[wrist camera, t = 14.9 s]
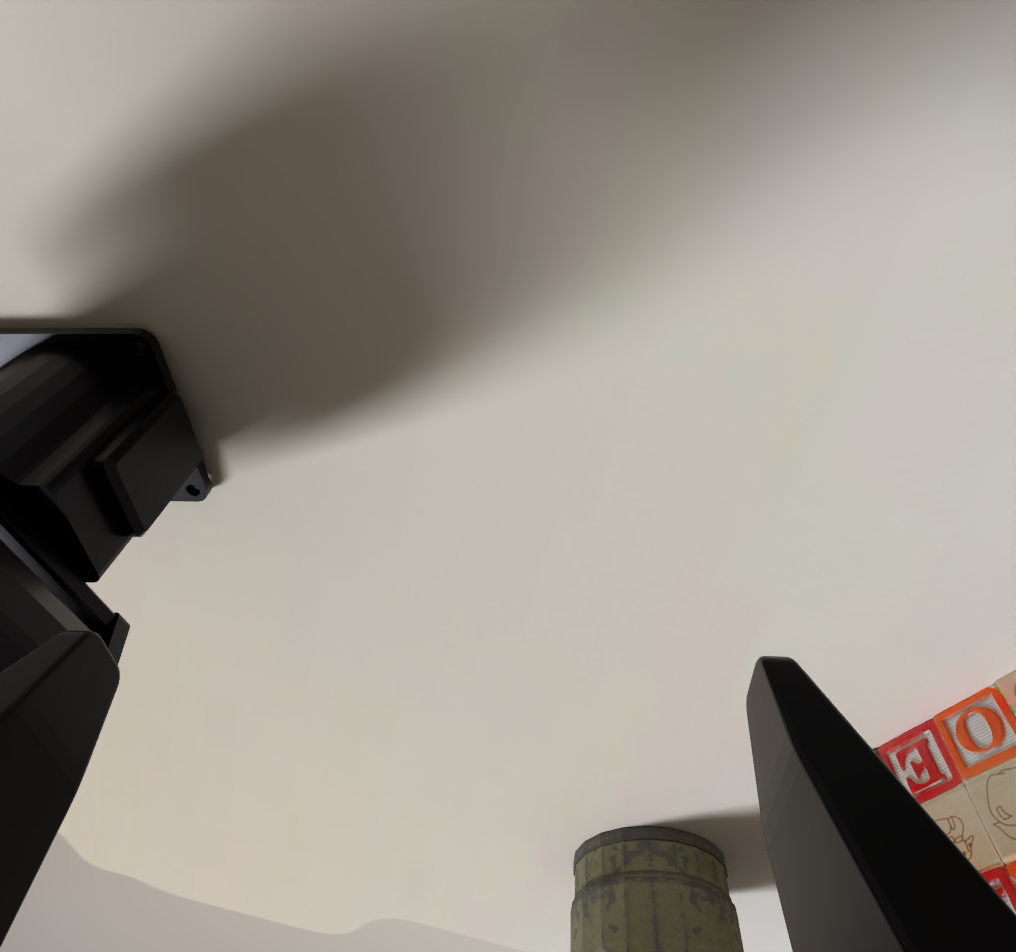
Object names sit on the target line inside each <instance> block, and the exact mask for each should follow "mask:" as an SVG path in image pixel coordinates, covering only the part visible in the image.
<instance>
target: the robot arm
mask: <svg viewBox="0 0 1016 952" xmlns="http://www.w3.org/2000/svg"><path fill="white" fill-rule="evenodd" d="M136 342H139V343H141V344H142V345H143V346H144V348H145V350H142V349H140V348H139V347H138V346H137V344H136ZM202 459H203V456H202V453H201V451H200V448H199V445H198V442H197V440H196V437H195V434H194V432H193V429H192V426H191V424H190V421H189V418H188V415H187V413H186V410H185V407H184V405H183V402H182V399H181V398H180V396H179V395H178V393H177V391H176V388H175V385H174V383H173V380H172V377H171V374H170V372H169V369H168V366H167V364H166V361H165V358H164V356H163V353H162V350H161V348H160V345H159V343H158V341H157V339H156V337H155V336H154V335H152V334H151V333H150V332H148V331H146V330H144V329H139V328H80V329H0V947H1V945H2V943H3V941H4V939H5V937H6V935H7V933H8V931H9V929H10V926H11V925H12V923H13V921H14V919H15V917H16V915H17V913H18V911H19V909H20V907H21V905H22V902H23V900H24V898H25V896H26V894H27V892H28V890H29V888H30V886H31V884H32V882H33V880H34V878H35V876H36V874H37V872H38V870H39V868H40V866H41V864H42V862H43V860H44V858H45V856H46V854H47V852H48V850H49V848H50V846H51V844H52V842H53V840H54V838H55V836H56V834H57V832H58V830H59V828H60V826H61V824H62V822H63V820H64V818H65V816H66V814H67V812H68V810H69V808H70V806H71V803H72V801H73V799H74V797H75V795H76V793H77V791H78V788H79V786H80V783H81V781H82V779H83V776H84V774H85V771H86V769H87V766H88V763H89V761H90V758H91V756H92V753H93V750H94V748H95V745H96V742H97V740H98V737H99V735H100V732H101V729H102V727H103V724H104V721H105V719H106V716H107V714H108V711H109V708H110V706H111V703H112V700H113V698H114V695H115V693H116V690H117V687H118V684H119V679H120V671H119V667H118V663H119V660H120V657H121V653H122V650H123V647H124V644H125V641H126V638H127V635H128V631H129V628H130V625H129V624H128V623H127V622H126V620H125V619H124V618H123V617H122V616H121V615H120V614H119V613H113V612H112V611H111V609H110V608H109V607H108V606H107V605H106V604H105V603H104V602H103V601H102V600H101V599H100V598H99V597H98V596H97V595H96V593H95V592H94V591H93V590H92V589H91V588H90V587H89V586H88V585H87V584H86V583H85V582H97V581H98V580H99V579H100V578H101V576H102V575H103V574H104V573H105V571H106V570H107V569H108V567H109V566H110V565H111V564H112V562H113V561H114V560H115V559H116V557H117V556H118V555H119V554H120V552H121V551H122V550H123V549H124V547H125V546H126V545H127V543H128V542H129V541H130V540H131V538H132V537H141V536H143V535H144V534H145V533H146V531H147V530H148V529H149V528H150V526H151V525H152V524H153V523H154V521H155V520H156V519H157V517H158V516H159V515H160V513H161V512H162V511H163V510H164V508H165V507H166V506H167V504H168V503H169V502H170V501H202V500H204V499H205V498H206V497H207V496H208V494H209V493H210V491H211V489H212V486H211V482H210V479H209V477H208V474H207V471H206V469H205V466H204V463H203V461H202ZM192 485H195V486H196V487H198V489H196V488H195V487H193V486H192ZM746 706H747V717H748V725H749V732H750V739H751V747H752V754H753V762H754V769H755V777H756V784H757V791H758V799H759V806H760V813H761V820H762V826H763V832H764V836H765V841H766V845H767V850H768V854H769V858H770V862H771V866H772V870H773V874H774V878H775V882H776V886H777V890H778V894H779V898H780V902H781V906H782V910H783V914H784V918H785V922H786V926H787V930H788V934H789V938H790V942H791V946H792V950H793V952H1016V914H1015V913H1014V912H1013V911H1012V909H1011V908H1010V907H1009V906H1008V905H1007V904H1006V903H1005V901H1004V900H1003V899H1002V898H1001V897H1000V896H999V894H998V893H997V892H996V891H995V890H994V889H993V888H992V886H991V885H990V884H989V883H988V882H987V881H986V880H985V878H984V877H983V876H982V875H981V874H980V873H979V871H978V870H977V869H976V868H975V867H974V866H973V865H972V863H971V862H970V861H969V860H968V859H967V858H966V856H965V855H964V854H963V853H962V852H961V851H960V850H959V848H958V847H957V846H956V845H955V844H954V843H953V842H952V840H951V839H950V838H949V837H948V836H947V835H946V833H945V832H944V831H943V830H942V829H941V828H940V827H939V825H938V824H937V823H936V822H935V821H934V820H933V819H932V817H931V816H930V815H929V814H928V813H927V812H926V810H925V809H924V808H923V807H922V806H921V805H920V804H919V802H918V801H917V800H916V799H915V798H914V797H913V796H912V794H911V793H910V792H909V791H908V790H907V789H906V787H905V786H904V785H903V784H902V783H901V782H900V781H899V779H898V778H897V777H896V776H895V775H894V774H893V773H892V771H891V770H890V769H889V768H888V767H887V766H886V764H885V763H884V762H883V761H882V760H881V759H880V758H879V756H878V755H877V754H876V753H875V752H874V751H873V750H872V748H871V747H870V746H869V745H868V744H867V743H866V741H865V740H864V739H863V738H862V737H861V736H860V735H859V733H858V732H857V731H856V730H855V729H854V728H853V727H852V725H851V724H850V723H849V722H848V721H847V720H846V718H845V717H844V716H843V715H842V714H841V713H840V712H839V710H838V709H837V708H836V707H835V706H834V705H833V704H832V702H831V701H830V700H829V699H828V698H827V697H826V695H825V694H824V693H823V692H822V691H821V690H820V689H819V687H818V686H817V685H816V684H815V683H814V682H813V681H812V679H811V678H810V677H809V676H808V675H807V674H806V672H805V671H804V670H803V669H802V668H801V667H800V666H799V664H798V663H797V662H796V661H794V660H793V659H791V658H789V657H776V656H762V657H760V658H759V659H758V660H757V662H756V664H755V668H754V672H753V675H752V679H751V683H750V686H749V690H748V694H747V704H746Z"/></svg>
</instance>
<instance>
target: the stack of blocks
mask: <svg viewBox="0 0 1016 952" xmlns="http://www.w3.org/2000/svg"><path fill="white" fill-rule="evenodd" d="M873 751H874V752H875V753H876V754H877V755H878V756H879V758H880V759H881V760H882V761H883V762H884V763H885V764H886V766H887V767H888V768H889V769H890V770H891V771H892V773H893V774H894V775H895V776H896V777H897V778H898V779H899V781H900V782H901V783H902V784H903V785H904V786H905V787H906V789H907V790H908V791H909V792H910V793H911V794H912V796H913V797H914V798H915V799H916V800H917V801H918V802H919V804H920V805H921V806H922V807H923V808H924V809H925V810H926V812H927V813H928V814H929V815H930V816H931V817H932V819H933V820H934V821H935V822H936V823H937V824H938V825H939V827H940V828H941V829H942V830H943V831H944V832H945V833H946V835H947V836H948V837H949V838H950V839H951V840H952V842H953V843H954V844H955V845H956V846H957V847H958V848H959V850H960V851H961V852H962V853H963V854H964V855H965V856H966V858H967V859H968V860H969V861H970V862H971V863H972V865H973V866H974V867H975V868H976V869H977V870H978V871H979V873H980V874H981V875H982V876H983V877H984V878H985V880H986V881H987V882H988V883H989V884H990V885H991V886H992V888H993V889H994V890H995V891H996V892H997V893H998V894H999V896H1000V897H1001V898H1002V899H1003V900H1004V901H1005V903H1006V904H1007V905H1008V906H1009V907H1010V908H1011V909H1012V911H1013V912H1014V913H1015V914H1016V670H1014V671H1013V672H1011V673H1009V674H1007V675H1005V676H1003V677H1001V678H1000V679H998V680H996V681H995V683H994V684H993V685H991V686H990V687H987V688H985V689H983V690H981V691H980V692H978V693H977V694H975V695H973V696H971V697H970V698H968V699H966V700H964V701H962V702H960V703H958V704H956V705H955V706H953V707H951V708H949V709H947V710H945V711H943V712H942V713H940V714H938V715H936V716H935V717H934V718H933V719H932V720H929V721H926V722H925V723H923V724H921V725H919V726H917V727H915V728H913V729H912V730H910V731H908V732H906V733H904V734H902V735H901V736H899V737H897V738H895V739H893V740H892V741H890V742H888V743H886V744H884V745H882V746H881V747H880V748H879V749H878V750H873Z"/></svg>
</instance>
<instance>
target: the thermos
mask: <svg viewBox="0 0 1016 952" xmlns="http://www.w3.org/2000/svg"><path fill="white" fill-rule="evenodd" d="M574 876H575V899H574V901H573V902H572V908H571V952H744V950H743V945H742V939H741V933H740V928H739V922H738V916H737V912H736V908H735V905H734V904H733V903H732V901H731V898H730V896H729V890H728V884H727V877H728V876H727V870H726V865H725V861H724V857H723V854H722V853H721V852H720V851H719V850H718V849H717V848H716V847H715V846H714V845H713V844H712V843H711V842H709V841H707V840H705V839H703V838H701V837H699V836H697V835H695V834H691V833H687V832H683V831H680V830H676V829H671V828H660V827H648V826H646V827H632V828H621V829H617V830H613V831H609V832H605V833H601V834H599V835H597V836H595V837H593V838H591V839H589V840H587V841H585V842H584V843H583V844H582V845H581V846H580V847H579V849H578V850H577V851H576V852H575V857H574Z"/></svg>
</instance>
